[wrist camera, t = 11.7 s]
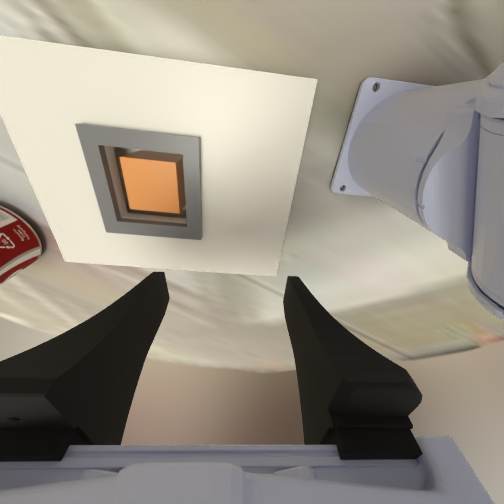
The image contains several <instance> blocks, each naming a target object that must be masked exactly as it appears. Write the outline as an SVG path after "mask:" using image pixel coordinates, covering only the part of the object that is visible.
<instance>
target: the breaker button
mask: <svg viewBox="0 0 504 504" xmlns="http://www.w3.org/2000/svg"><path fill="white" fill-rule="evenodd" d="M119 158H120V163H121V168H122V172H123V177H124V182H125V187H126V192H127V196H128V201H129V206H130V209H134V210H145V211H157V212H168V213H179V214H180V212H181V211H182V210H183V208H184V207H185V205H186V200H185V184H184V169H183V155H178V154H168V153H159V152H150V151H141V150H139V151H136V152H133V153H130V154H126V155H123V156H120V157H119Z"/></svg>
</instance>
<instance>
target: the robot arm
mask: <svg viewBox="0 0 504 504" xmlns="http://www.w3.org/2000/svg"><path fill="white" fill-rule="evenodd" d="M375 83H376V84H377V89H376V91H375V92H374V91H373V90H372V87H373V85H374V84H375ZM342 185H344V189H342V190H340V187H341V186H342ZM330 189H331V191H332V192H333V193H338V194H348V195H358V196H368V197H377V198H378V199H380V200H382V201H383V202H385V203H386V204H388V205H390V206H391V207H393V208H394V209H396V210H398V211H399V212H401V213H402V214H404V215H406V216H407V217H409V218H410V219H412V220H413V221H415V222H417V223H418V224H420V225H421V226H423V227H425V228H426V229H428V230H430V231H432V232H433V233H434V234H436V235H437V236H439V237H441V238H442V239H444V240H446V241H447V243H448V248H449V250H451V251H452V252H454V253H455V254H457V255H458V256H460V257H461V258H463V259H464V260H466V261H469V262H468V268H467V274H466V276H467V284H468V286H469V289H470V291H471V293H472V294H473V296H474V297H475V298H476V300H477V301H478V302H479V303H480V304H481V305H482V306H483V307H484V308H485V309H487V310H488V311H489V312H491V313H492V314H493V315H494V316H496V317H497V318H499V319H501V320H502V321H504V61H503V62H502V63H501V64H500V65H499V66H498V67H497V68H496V69H495V71H494V72H492V73H491V74H490V75H488V76H487V77H486V78H485V79H479V80H472V81H466V82H460V83H454V84H448V85H441V86H431V85H424V84H417V83H410V82H403V81H396V80H389V79H382V78H375V77H369V78H366V79H365V80H363V82H362V83H361V85H360V88H359V92H358V95H357V98H356V102H355V105H354V108H353V112H352V115H351V119H350V122H349V125H348V129H347V132H346V135H345V139H344V142H343V146H342V149H341V152H340V156H339V159H338V162H337V166H336V169H335V173H334V176H333V179H332V183H331V186H330ZM168 302H169V293H168V288H167V283H166V278H165V273H164V272H153V273H151V274H150V275H149V276H147V277H146V278H145V279H144V280H142V281H141V282H140V283H139V284H138V285H136V286H135V287H134V288H133V289H131V290H130V291H129V292H127V293H126V294H125V295H124V296H122V297H121V298H119V299H118V300H117V301H115V302H114V303H113V304H111V305H110V306H108V307H107V308H105V309H104V310H102V311H101V312H99V313H98V314H96V315H95V316H93V317H91V318H90V319H88V320H86V321H85V322H83V323H81V324H79V325H77V326H76V327H74V328H72V329H70V330H68V331H66V332H65V333H63V334H61V335H59V336H57V337H55V338H53V339H51V340H49V341H47V342H44V343H42V344H40V345H38V346H36V347H34V348H31V349H29V350H27V351H24V352H22V353H20V354H17V355H15V356H13V357H10V358H8V359H6V360H3V361H1V362H0V504H494V502H493V501H492V499H491V498H490V496H489V495H488V493H487V491H486V490H485V488H484V487H483V485H482V483H481V482H480V480H479V479H478V477H477V476H476V474H475V473H474V471H473V469H472V468H471V467H470V465H469V463H468V462H467V460H466V459H465V457H464V455H463V454H462V452H461V451H460V449H459V447H458V446H457V444H456V443H455V441H454V440H453V438H452V437H450V436H421V437H418V438H414V436H413V434H412V432H411V430H410V429H412V428H413V425H412V423H411V421H410V419H409V417H408V415H409V414H410V413H411V412H412V411H413V410H414V409H415V408H416V407H418V405H419V404H420V403H421V400H422V394H421V392H420V391H419V389H418V387H417V386H416V384H415V383H414V381H413V379H412V378H411V376H410V375H409V373H408V372H407V371H406V369H404V368H402V367H400V366H399V365H397V364H395V363H394V362H392V361H391V360H389V359H387V358H386V357H384V356H382V355H381V354H379V353H378V352H376V351H375V350H373V349H372V348H370V347H369V346H368V345H366V344H365V343H363V342H362V341H361V340H359V339H358V338H357V337H356V336H354V335H353V334H352V333H350V332H349V331H348V330H347V329H346V328H344V327H343V326H342V325H341V324H340V323H339V322H338V321H337V320H335V319H334V318H333V317H332V316H331V315H330V314H329V313H328V312H327V311H326V310H325V308H324V307H323V306H322V305H321V304H320V303H319V302H318V301H317V299H316V298H315V297H314V296H313V295H312V294H311V292H310V291H309V290H308V289H307V287H306V286H305V285H304V283H303V282H302V281H301V279H300V278H299V277H297V276H288V278H287V283H286V289H285V294H284V300H283V304H284V313H285V319H286V324H287V328H288V332H289V336H290V340H291V344H292V348H293V353H294V358H295V364H296V371H297V378H298V386H299V394H300V402H301V412H302V421H303V432H304V443H305V445H121V441H122V437H123V433H124V429H125V425H126V421H127V417H128V414H129V410H130V407H131V403H132V400H133V396H134V392H135V389H136V386H137V383H138V380H139V376H140V374H141V371H142V367H143V364H144V361H145V359H146V356H147V353H148V351H149V349H150V346H151V344H152V342H153V340H154V337H155V335H156V333H157V331H158V329H159V326H160V324H161V322H162V320H163V317H164V315H165V312H166V309H167V305H168ZM269 474H273V475H269Z"/></svg>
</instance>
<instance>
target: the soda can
mask: <svg viewBox="0 0 504 504" xmlns="http://www.w3.org/2000/svg"><path fill="white" fill-rule="evenodd" d="M41 252H42V245H41V241H40V239H39V237H38V235H37V233H36V232H35V231H34V229H33V228H32V227H31V226H30V225H29V224H28V223H27V222H26V221H25V220H24V219H23V218H21V217H20V216H19V215H17V214H16V213H14V212H12V211H11V210H9V209H7V208H5V207H2V206H0V285H1V284H2V283H4V282H5V281H7V280H8V279H10V278H11V277H13V276H14V275H15V274H17V273H18V272H20V271H21V270H23V269H24V268H26V267H27V266H29V265H30V264H32V263H33V262H35V261H36V260H37V259H38V258H39V257H40V255H41Z"/></svg>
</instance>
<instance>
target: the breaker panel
mask: <svg viewBox="0 0 504 504" xmlns="http://www.w3.org/2000/svg"><path fill="white" fill-rule="evenodd" d="M317 80H318V79H312V78H305V77H297V76H290V75H283V74H276V73H268V72H261V71H254V70H247V69H240V68H232V67H225V66H218V65H211V64H203V63H196V62H189V61H182V60H175V59H167V58H160V57H153V56H146V55H138V54H131V53H124V52H117V51H110V50H102V49H95V48H88V47H81V46H73V45H66V44H59V43H52V42H44V41H37V40H30V39H23V38H16V37H8V36H1V35H0V114H1V117H2V119H3V121H4V123H5V126H6V128H7V130H8V133H9V135H10V137H11V139H12V142H13V144H14V146H15V148H16V151H17V153H18V155H19V158H20V160H21V162H22V164H23V167H24V169H25V171H26V174H27V176H28V178H29V180H30V183H31V185H32V187H33V189H34V192H35V194H36V196H37V199H38V201H39V203H40V205H41V208H42V210H43V212H44V215H45V217H46V219H47V221H48V224H49V226H50V228H51V230H52V233H53V235H54V237H55V240H56V242H57V244H58V246H59V249H60V251H61V253H62V255H63V258H64V260H65V262H77V263H91V264H105V265H119V266H133V267H147V268H161V269H175V270H189V271H203V272H217V273H231V274H245V275H259V276H273V277H276V276H277V271H278V266H279V261H280V256H281V252H282V247H283V242H284V237H285V233H286V228H287V223H288V218H289V214H290V209H291V204H292V199H293V194H294V190H295V185H296V180H297V175H298V171H299V166H300V161H301V156H302V152H303V147H304V142H305V137H306V132H307V128H308V123H309V118H310V113H311V109H312V104H313V99H314V94H315V90H316V85H317ZM139 150H141V151H150V152H159V153H168V154H178V155H183V169H184V184H185V200H186V205H185V207H184V208H183V210H182V211H181V212H180V214H179V213H168V212H157V211H145V210H134V209H130V206H129V201H128V196H127V192H126V187H125V182H124V177H123V172H122V168H121V163H120V158H119V157H120V156H123V155H126V154H130V153H133V152H136V151H139Z"/></svg>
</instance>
